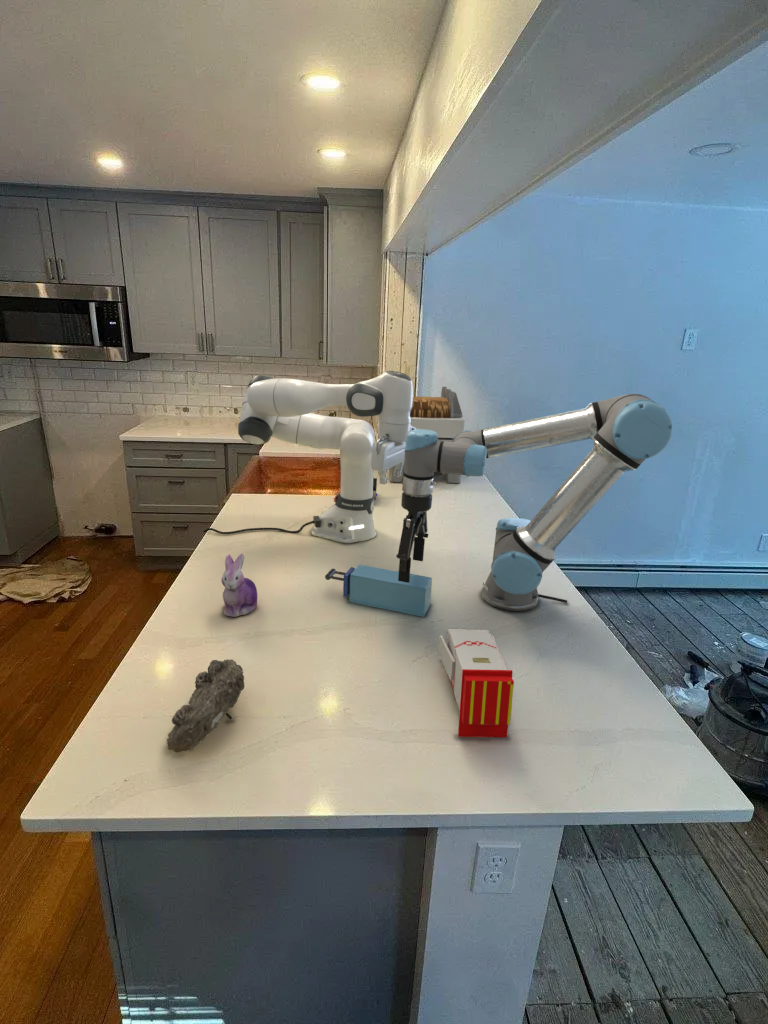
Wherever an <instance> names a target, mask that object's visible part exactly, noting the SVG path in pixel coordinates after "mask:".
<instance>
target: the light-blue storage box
mask: <svg viewBox="0 0 768 1024" xmlns="http://www.w3.org/2000/svg"><path fill="white" fill-rule="evenodd" d="M398 576H399V570H398V571H397V570H392V569H386V568H382V567H375V566H370V565H364V564H358V565H357V566H356V567H355V570H354V571H353V572H352V573H351V574H350V595H349V603H352V604H357V605H362V606H367V607H373V608H378V609H383V610H387V611H392V612H396V613H397V612H398V613H402V614H408V615H411V616H418V617H421V618H424V617H425V616H426V613H427V612H428V610H429V608H430V606H431V598H432V586H433V585H432V584H433V583H432V582H433V577H430V576H426V575H420V574H414V573H410V580H409V583H407V582H402V581H398Z"/></svg>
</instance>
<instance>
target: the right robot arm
mask: <svg viewBox="0 0 768 1024" xmlns="http://www.w3.org/2000/svg"><path fill="white" fill-rule="evenodd" d="M672 434H673V423H672V420H671V417H670V415H669V413H668V411H666V409H665V408H664V407H663V406H662V405H661V404H660V403H658V402H656V401H654V400H652V399H651V398H649V397H648V396H646V395H643V394H640V393H626V394H622V395H618V396H615V397H611V398H607V399H601V400H598V401H594V402H590V403H589V404H588V405H587V406H586V407H585V408H580V409H575V410H570V411H566V412H561V413H555V414H551V415H546V416H541V417H537V418H531V419H527V420H522V421H517V422H513V423H508V424H502V425H497V426H492V427H487V428H484V429H483V428H482V429H478V430H471V429H465V430H464V431H462V432H460V433H459V434H457V435H456V437H455V438H454V440H453V442H444V441H439V440H438V435H437V433H436V432H434V431H430V430H425V429H416V430H411V431H410V432H409V433H408V434H407V439H406V447H405V458H404V468H403V475H402V486H401V491H402V493H401V500H400V501H401V502H400V505H401V507H402V508H403V510H406V512H408V513H407V514H406V516H405V517H404V518H403V520H402V521H403V522H402V530H401V535H400V541H399V546H398V550H397V551H398V552H397V553H396V555H395V556H396V558H397V559H398V560H399V565H398V572H399V576H398V581H402V582H407V583H409V580H410V574H411V565H412V560H413V561H416V562H417V561H418V562H424V554H425V553H424V552H425V543H426V539H428V538H429V533H428V531H429V530H428V514H427V512H428V511H430V510H431V508H432V503H433V494H432V493H433V488H434V487H435V486H436V481H434V479H435V473H440V474H441V473H449V474H457V475H460V476H465V477H483V476H484V474H485V470H486V463H487V462H486V461H487V459H491V458H496V457H500V456H507V455H512V454H518V453H522V452H527V451H528V452H529V451H535V450H540V449H543V448H544V449H545V448H550V447H556V446H560V445H566V444H571V443H576V442H582V441H589V440H592V445H593V447H592V449H591V450H590V451H589V453H587V455H586V456H585V457H584V458H583V459H582V461H581V462H580V463H579V464H578V465H577V466H576V467H575V469H574V470H572V472H571V474H570V475H569V476H568V477H567V478H566V479H565V481H564V482H563V483H562V484H561V485H560V486H559V487H558V489H557V490H555V492H554V493H553V495H551V496H550V498H549V499H548V500H547V502H546V503H545V504H544V505H543V506H542V507H541V509H539V511H538V512H537V513H536V514H535V516H534V517H533V518H531V520H530V519H526V518H519V517H505V518H500V519H498V521H497V523H496V527H495V537H494V544H493V545H494V546H493V555H492V562H491V565H490V568H491V569H490V572H489V574H488V576H487V578H486V580H485V582H484V581H482V592H481V597H482V599H483V600H484V601H485V602H487V604H489V605H491V606H492V607H495V608H497V609H500V610H503V611H507V612H508V611H509V612H526V611H530V610H532V609H534V608H535V607H536V606H537V605H538V602H539V598H542V599H545V600H551V601H556V602H560V603H564V604H568V599H563V598H559V597H554V596H550V595H546V594H540V593H539V592H538V587H539V585H540V583H541V581H542V579H543V573H544V572H545V570H547V568H549V566H550V565H551V564H552V563H553V562H554V560H555V559H557V558H556V556H557V555H556V549H557V548H558V546H560V545H561V543H562V542H563V541H564V540H565V539H566V537H567V536H568V535H570V533H571V532H572V531H573V530H574V528H575V527H576V526H577V525H578V524H579V523H580V522H581V521H582V520H583V519H584V517H586V516H587V514H588V513H589V512H590V511H591V510H592V508H594V507H595V505H596V504H597V503H598V502H599V501H600V500H601V498H603V497H604V496H605V494H606V493H607V492H608V491H609V490H610V489H611V488H612V486H613V485H614V484H615V483H616V482H617V481H618V480H619V478H621V476H622V475H624V474H625V472H632V471H633V472H634V471H636V470H637V469H638V468H639V467H640V466H641V465H642V464H643V463H644V462H645V461H646V460H647V459H650V458H653V457H655V456H656V455H658V454H660V453H661V452H662V451H664V449H665V448H667V446H668V444H669V442H670V441H671V438H672ZM412 551H413V552H412ZM411 555H412V557H411Z"/></svg>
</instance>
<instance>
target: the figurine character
mask: <svg viewBox="0 0 768 1024" xmlns="http://www.w3.org/2000/svg"><path fill="white" fill-rule="evenodd" d="M377 484H378V478H377V477H373V496H374V500H376V498H377V496H378V493H377V487H378V485H377Z"/></svg>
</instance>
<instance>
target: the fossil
mask: <svg viewBox="0 0 768 1024" xmlns="http://www.w3.org/2000/svg"><path fill="white" fill-rule="evenodd" d="M243 670H244V669H243V667H242V665H240V664H237V662H236V661H235V660H234V659H232V658H231V659H227V658H226V659H224V660H223V661H222V660H217V659H212V660H211V661H210V663H209V665H208V666H207V671H201V672H199V673H198V674H197V675H196V676H195V680H194V684H195V685H194V687H195V689H194V690H193V693H192V694H191V697H190V698H189V700H188V704H184V705H182V706H181V707H180V709H177V710H176V711H175V713H174V715H173V716H172V718H171V723H172V724H173V727H172V730H171V731H170V732H168V734H167V738H166V741H167V742H166V745H167V749H168V750H169V751H173V752H174V753H176V754H178V753H182V752H188V751H189V752H192V751H193V750H195V748H196V747H197V746H199V744H200V743H201V742H203V741H204V740H205V739H206V738H207V737H208V736H209V735H210V734H211V733H212V732H214V730H215V729H217V727H218V726H219V724H220V722H221V721H222V720H223V719H224V718H225V716H226V717H227V719H229V720H233V717H232V715H230V714H229V710H230V709H231V708H234V706H235V704H236V703H237V702H238V699H239V697H240V695H241V693H242V691H243V690H245V689H244V688H245V675H244V671H243Z"/></svg>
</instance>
